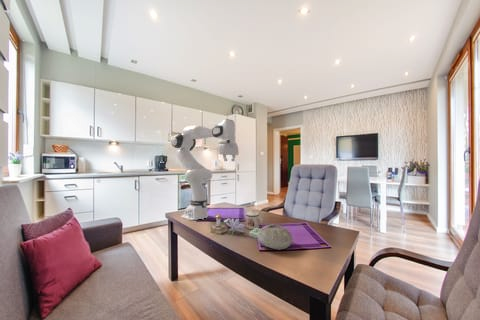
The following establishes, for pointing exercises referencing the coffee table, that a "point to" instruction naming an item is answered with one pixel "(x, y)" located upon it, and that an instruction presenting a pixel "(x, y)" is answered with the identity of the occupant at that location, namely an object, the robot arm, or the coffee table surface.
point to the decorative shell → (275, 237)
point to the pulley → (227, 222)
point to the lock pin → (218, 220)
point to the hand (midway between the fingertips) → (229, 161)
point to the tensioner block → (218, 229)
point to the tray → (254, 233)
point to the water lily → (235, 225)
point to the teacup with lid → (252, 220)
